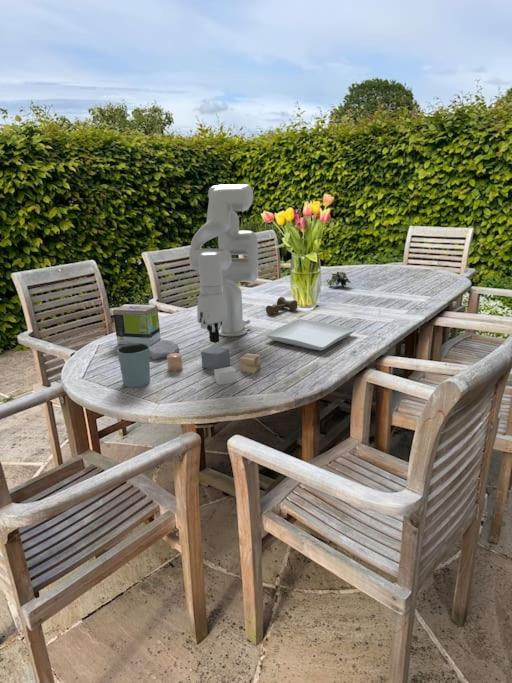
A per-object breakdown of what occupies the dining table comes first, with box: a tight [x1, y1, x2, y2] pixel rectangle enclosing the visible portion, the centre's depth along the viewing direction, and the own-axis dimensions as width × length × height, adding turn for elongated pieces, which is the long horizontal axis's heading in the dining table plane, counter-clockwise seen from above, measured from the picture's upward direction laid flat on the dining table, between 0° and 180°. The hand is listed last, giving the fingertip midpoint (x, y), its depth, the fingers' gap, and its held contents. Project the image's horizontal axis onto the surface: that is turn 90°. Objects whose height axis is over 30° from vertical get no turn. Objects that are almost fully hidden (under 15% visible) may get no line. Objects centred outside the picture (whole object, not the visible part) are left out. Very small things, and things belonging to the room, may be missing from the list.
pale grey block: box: [213, 366, 237, 386], centre depth 150 cm, size 6×4×4 cm, turn 113°
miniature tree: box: [326, 271, 351, 288], centre depth 272 cm, size 11×11×12 cm
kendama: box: [265, 296, 298, 316], centre depth 227 cm, size 6×10×20 cm
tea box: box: [112, 303, 161, 346], centre depth 188 cm, size 15×10×15 cm, turn 74°
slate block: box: [200, 345, 231, 371], centre depth 162 cm, size 7×7×6 cm
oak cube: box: [239, 352, 261, 374], centre depth 158 cm, size 5×5×5 cm
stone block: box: [149, 339, 180, 361], centre depth 175 cm, size 12×5×10 cm
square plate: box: [264, 318, 356, 351], centre depth 187 cm, size 27×27×4 cm
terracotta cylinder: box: [166, 352, 184, 373], centre depth 161 cm, size 5×5×5 cm
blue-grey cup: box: [116, 343, 151, 389], centre depth 150 cm, size 10×10×12 cm
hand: (214, 341), depth 160 cm, fingers closed
